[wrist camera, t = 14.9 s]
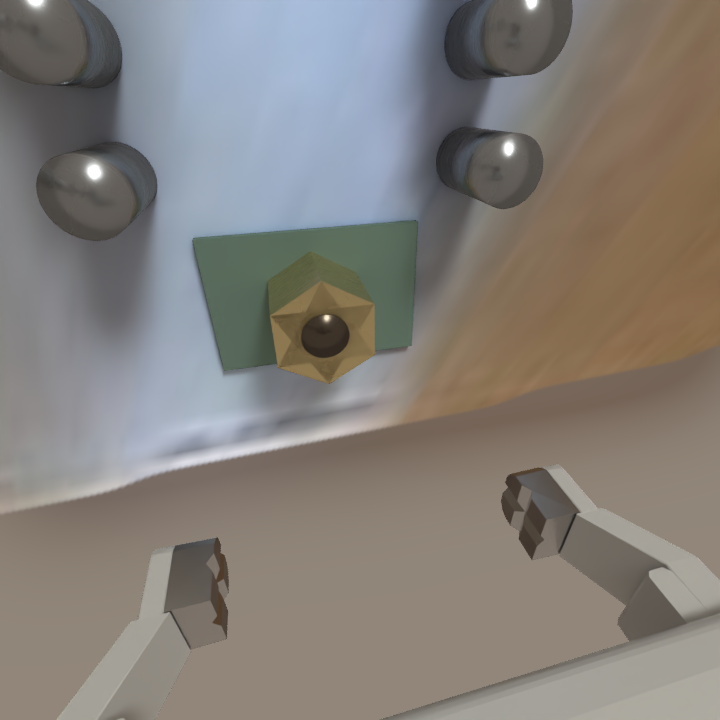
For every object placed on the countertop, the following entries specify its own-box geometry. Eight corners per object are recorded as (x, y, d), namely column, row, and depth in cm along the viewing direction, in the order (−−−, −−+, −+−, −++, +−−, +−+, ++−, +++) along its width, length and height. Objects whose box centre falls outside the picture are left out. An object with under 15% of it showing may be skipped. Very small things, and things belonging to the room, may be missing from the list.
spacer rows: (98, 213, 20) (57, 243, 16) (-55, -221, 13) (-205, -376, 9) (485, 187, 23) (535, 206, 19) (531, -169, 16) (627, -262, 12)
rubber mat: (224, 367, 26) (224, 370, 25) (193, 238, 21) (192, 240, 21) (409, 342, 28) (411, 345, 27) (415, 220, 23) (417, 222, 23)
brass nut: (277, 347, 25) (281, 391, 21) (263, 255, 22) (265, 287, 18) (357, 337, 26) (375, 378, 22) (354, 247, 23) (374, 276, 19)
